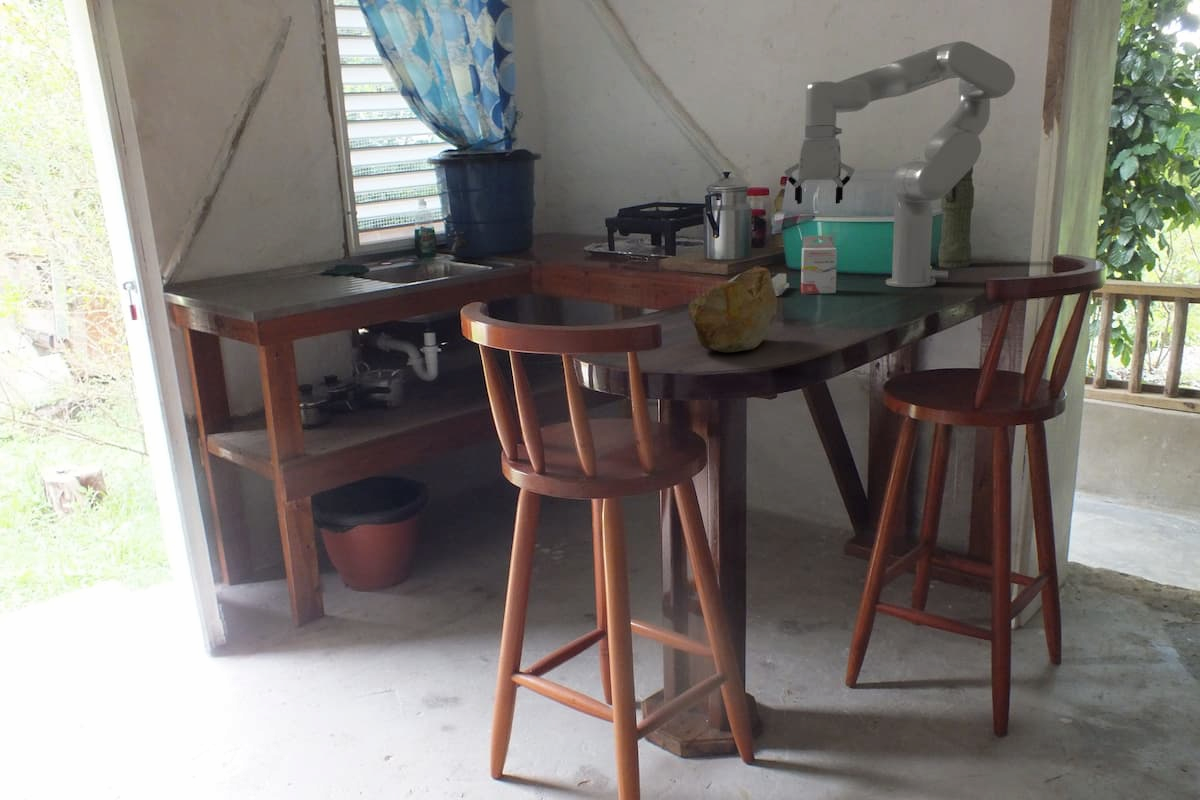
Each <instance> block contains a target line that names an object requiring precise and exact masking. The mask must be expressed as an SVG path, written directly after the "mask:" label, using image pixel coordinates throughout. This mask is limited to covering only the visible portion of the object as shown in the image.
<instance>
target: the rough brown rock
mask: <svg viewBox="0 0 1200 800" xmlns="http://www.w3.org/2000/svg"><path fill="white" fill-rule="evenodd" d="M739 274H740V273H739ZM739 274H738V275H739ZM770 274H771V272H770V270H769V269H768V268H766V267H761V266H760V265H755V266H754V267H752V268H750V269H747V270H746V271H743V272H741V274H740V275H739V276H738V277H737V278H735V279H734V280H733V281H732V282H728V281H726V282H722V283H719V284H715V285H712V286H710V287H709V289H708V291H707V292H706V293H703V294H701V295H697V296H696V297H694V298H693V299H692V300H691V301H689V303H688V315H689V319H690V321H691V322H692V323H693V325H694V328H695V333H696V334H697V339H698V341H699V343H700V344H701V346H702V347H704V350H711V349H712V350H714V351H717V352H721V353H736V352H741V351H751V350H754V349H755V348H757V347H759V345H760V344H761V343H762V342H763V341H764V340H766V338H767V337H768V336H769V334H771V333H770V332H771V329H772V325H771V321H772V320H773V319H774V318H775V317H776V315H777V313H778V311H777V309H778V299H777V298H778V297H776V294H775V291H774V287H773V283H772V279H771V275H770Z"/></svg>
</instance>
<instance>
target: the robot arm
mask: <svg viewBox="0 0 1200 800" xmlns="http://www.w3.org/2000/svg"><path fill="white" fill-rule="evenodd" d="M950 79H959V82H958V93H959V95H958V96H959V102H958V105H957V109H956V110H955V112H954V113H953V114H952V115H951V117H950V118H949V119H948V120H947V121H946V122H945V123H944V124H943V125H942V127H940V128H939V129H938V130H937V131H936V132H935V134H934V135H932V136H931V138H930V139H929V140H928V142H926V145H925V148H924V158H925V160H926V161H923V160H922V161H921V160H920V161H919V160H917V161H916V160H914V161H907V162H905V163H903V164H901V165H900V166H899V167H898V168H897V169H896V170H895V171H894V174H893V176H892V178H891V179H892V180H891V190H892V199H893V211H894V212H893V215H894V216H893V235H892V236H893V238H892V240H893V241H892V244H893V245H892V270H891V277H890V278H887V279H885V284H886V285H887V286H888V287H889V286H890V287H896V288H926V287H932V286H935V285H936V283H937V280H936V279H937V278H938V279H939V278H940V279H948V277H949V270H936V269H933V266H932V265H931V260H932V259H931V258H932V238H933V237H932V235H933V208H932V202H933V201H937V200H940V199H941V198H942V197H943V196H944V195H946V194H947V193H948V192H949V191H950V190H951V189H952V188H953V187H954V186H955V185H956V184H957V183H958V182H959V181H960V180H961V179H962V178H963V176H964V175H965V174H966V173H967V172H968V171H969V170H970V169H971V168H972V167H973V168H974V166H975V165H976V163H977V162H978V160H979V158H980V155H981V153H982V141H981V138H980V135H981V134H982V132H983V131H984V130H985V129H986V127H987V125H988V124H989V120H990V116H991V115H990V114H991V101H990V100H991V99H999V98H1002V97H1004V96H1006V95H1007V94H1009V92H1010V91H1011V90H1013V87H1014V86H1015V81H1016V75H1015V71H1014V69H1013V68H1012V66H1011V65H1010V64H1009V63H1007V62H1006V61H1005V60H1003V59H1001V58H999V57H997V56H995V55H993V54H991V53H990V52H988V51H987V50H984V49H982V48H981V47H979V46H977V45H975V44H973V43H970V42H967V41H963V40H959V41H955V42H949V43H948V42H947V43H944V44H940V45H937V46H934V47H931V48H928V49H926V50H922V51H921V52H917V53H915V54H912V55H909V56H905V57H904V58H899V59H898V60H895V61H892V62H890V63H887V64H885V65H881V66H879V67H876V68H874V69H871V70H868V71H865V72H863V73H860V74H857V75H856V74H855V76H851V77H848V78H845V79H841V80H839V81H835V82H834V81H830V80H829V81H813V82H810V83H808V84H807V85H806V89H805V115H804V118H805V119H804V121H805V122H804V123H805V125H804V127H805V128H804V139H802V141H801V144H800V150H799V160H798V163H796V164H795V165H792V166H791V167H789V168H787V169H785V170H784V174H785V176H786V178H787V180H788V182H789V183H790V184H791V185H792V186H793V188H794V201H795V202H796V204H797V205H801V204H802V203H803V187H802V184H803V183H804V182H805V181H828V180H831V181H832V180H833V182H835V184H836V187H835V204H840V203H841V201H842V200H844V199H843V194H844V193H843V192H844V189H843V188H844V187H845V185H846V184H848V182H849V181H850V180H851V179H852V177H853V175H854V173H855V171H856V169H855V168H854V167H852V166H850V165H848V164H846V163H844V162H841V161H842V156H841V143H840V138H837V135H839V134H840V135H841V134H842V133H843V128H842V127H837V114H838V113H850V112H852V113H853V112H859V111H861V110H863V109H864V108H866V107H867V106H868V105H869V103H871V102H875V101H878V100H884V99H890V98H897V97H901V96H904V95H907V94H910V93H914V92H916V91H918V90H921V89H924V88H927V87H929V86H932V85H935V84H938V83H941V82H944V81H946V80H950ZM842 170H844V171H846V172H847V174H846V175H845V177H844V178H843V179H842V178H841V173H842ZM796 171H798V179H795V177H794V176H793V173H794V172H796Z"/></svg>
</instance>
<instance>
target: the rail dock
mask: <svg viewBox="0 0 1200 800" xmlns="http://www.w3.org/2000/svg"><path fill="white" fill-rule="evenodd" d="M741 273H742V272H741ZM741 273H739V274H737V275H735V276H734V277H732V278H731V279H729V280H727V282H732V281H733V280H734V279H735V278H737V277H738V276H739V275H740V274H741ZM770 275H771V279H772V283H773V287H774V291H775V294H776V296H779V295H780V296H781V295H782V294H784V293H785V292H786V291H787V290H788V289H789V288H790V283H789V282H787V273H770ZM788 287H789V288H788ZM787 288H788V289H787ZM786 289H787V290H786ZM785 290H786V291H785ZM784 291H785V292H784ZM783 292H784V293H783ZM780 296H779V297H780Z"/></svg>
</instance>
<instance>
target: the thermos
mask: <svg viewBox="0 0 1200 800" xmlns="http://www.w3.org/2000/svg"><path fill="white" fill-rule="evenodd" d="M973 171H974V166H973V167H972V168H971V169H970V170H969V171H968V172H967V173H966V174H965V175H964V176H963V178H962V179H961V180H960V181H959V182H958V183H957V184H956V185H955V186H954V187H953V188H952V189H951V190H950V191H949V192H948V193H947V194H946V195H944V196H943V197H942V198H940V199H941V200H940V201H941V202H940V204H941V205H940V208H941V211H942V213H941V214H942V217H941V235H940V236H941V237H940V243H939V246H938V258H937V259H938V267H940V268H952V269H953V268H954V269H955V268H965V267H969V266H970V261H971V258H972V257H971V256H972V244H971V239H970V237H971V224H972V223H971V221H972V219H971V218H972V210H973V209H974V199H975V198H974V197H975V187H974V184H973V173H974V172H973Z"/></svg>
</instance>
